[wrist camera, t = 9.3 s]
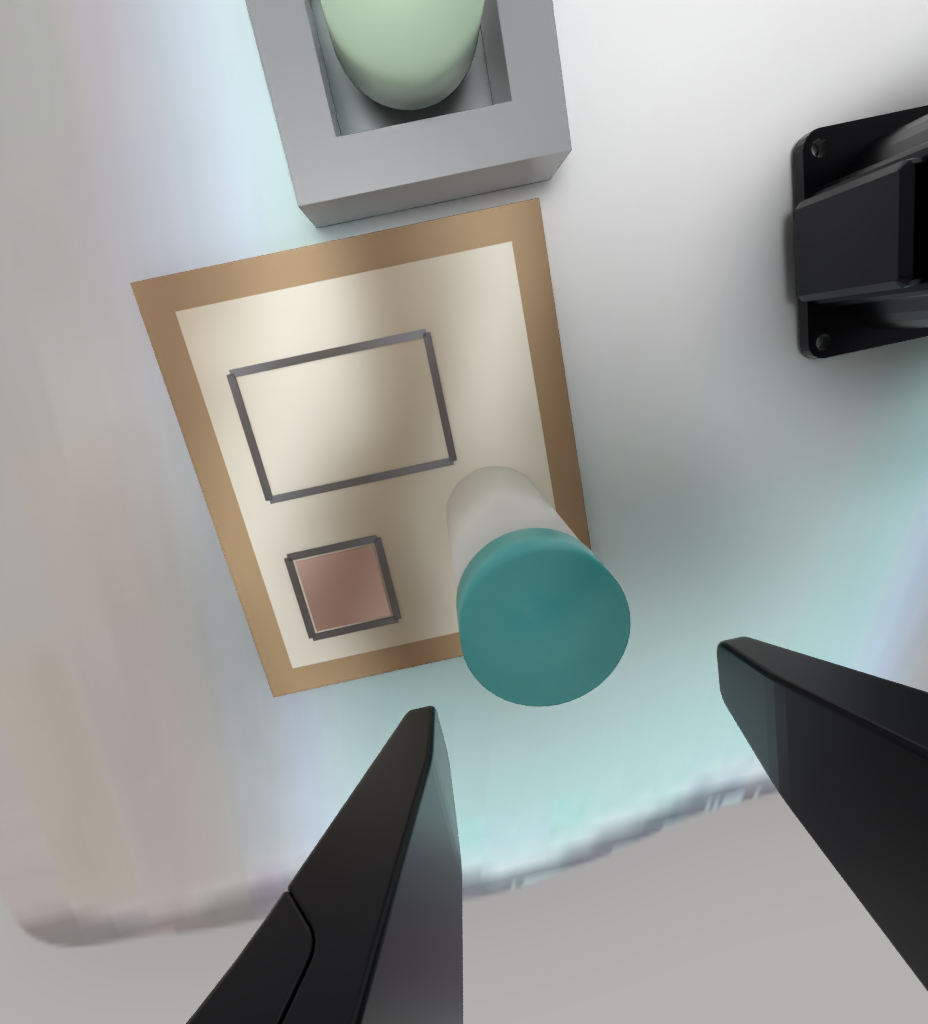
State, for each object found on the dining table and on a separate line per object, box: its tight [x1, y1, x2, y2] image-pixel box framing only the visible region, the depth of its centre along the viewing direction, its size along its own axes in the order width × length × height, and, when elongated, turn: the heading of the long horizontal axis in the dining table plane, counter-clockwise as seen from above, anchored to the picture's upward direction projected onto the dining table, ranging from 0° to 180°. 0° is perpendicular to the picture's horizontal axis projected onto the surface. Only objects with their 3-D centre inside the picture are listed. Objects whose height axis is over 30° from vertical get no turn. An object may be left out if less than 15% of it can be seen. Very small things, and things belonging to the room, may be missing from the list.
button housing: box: [245, 0, 572, 228], centre depth 14 cm, size 7×7×2 cm
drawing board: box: [131, 198, 591, 697], centre depth 18 cm, size 12×14×1 cm
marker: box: [446, 466, 630, 706], centre depth 15 cm, size 3×3×8 cm
